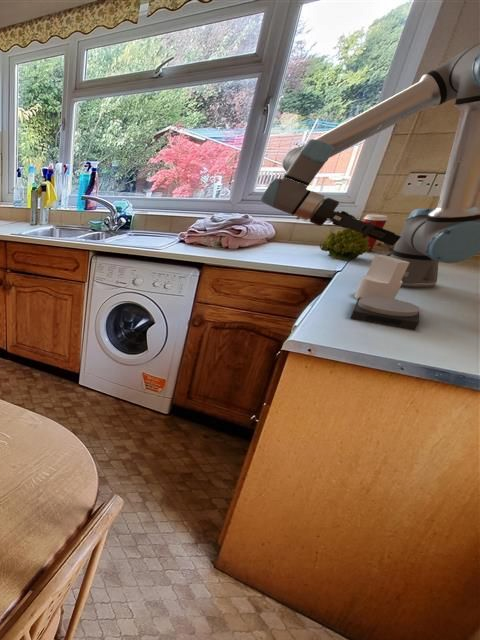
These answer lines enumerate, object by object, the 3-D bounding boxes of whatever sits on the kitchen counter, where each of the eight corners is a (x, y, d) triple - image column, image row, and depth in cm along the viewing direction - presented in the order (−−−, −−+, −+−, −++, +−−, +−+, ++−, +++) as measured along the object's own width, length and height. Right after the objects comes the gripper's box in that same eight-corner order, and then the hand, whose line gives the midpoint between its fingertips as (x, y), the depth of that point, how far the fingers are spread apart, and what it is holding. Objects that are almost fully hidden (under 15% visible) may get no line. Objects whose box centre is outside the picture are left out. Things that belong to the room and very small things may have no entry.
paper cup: (372, 249, 185) (387, 214, 178) (375, 253, 179) (391, 217, 172) (349, 247, 189) (363, 213, 182) (351, 251, 183) (366, 216, 176)
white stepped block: (347, 294, 134) (363, 255, 128) (376, 294, 134) (394, 254, 128) (369, 303, 126) (388, 262, 121) (401, 303, 126) (421, 262, 120)
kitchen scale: (355, 304, 126) (360, 293, 125) (415, 314, 119) (421, 302, 117) (350, 318, 117) (355, 306, 115) (414, 330, 109) (421, 317, 107)
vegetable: (360, 254, 161) (356, 216, 163) (315, 268, 176) (311, 233, 177) (384, 258, 166) (380, 221, 168) (338, 272, 181) (335, 237, 182)
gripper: (308, 219, 142) (378, 247, 135) (306, 223, 124) (387, 256, 116) (326, 196, 138) (399, 224, 130) (326, 197, 120) (411, 229, 112)
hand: (394, 239), depth 123 cm, fingers open, 13 cm apart
